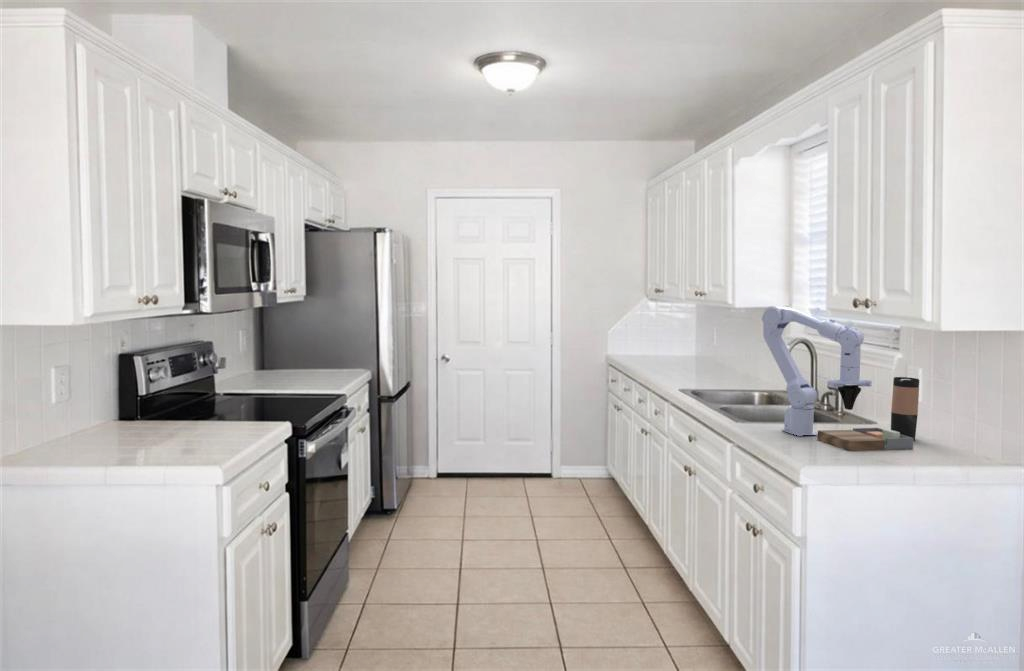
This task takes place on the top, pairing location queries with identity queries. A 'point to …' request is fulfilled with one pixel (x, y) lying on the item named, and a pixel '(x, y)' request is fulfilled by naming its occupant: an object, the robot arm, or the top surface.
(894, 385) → the travel mug
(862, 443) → the board
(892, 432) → the tile sage
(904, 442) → the box
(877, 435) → the tile terracotta
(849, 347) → the robot arm
